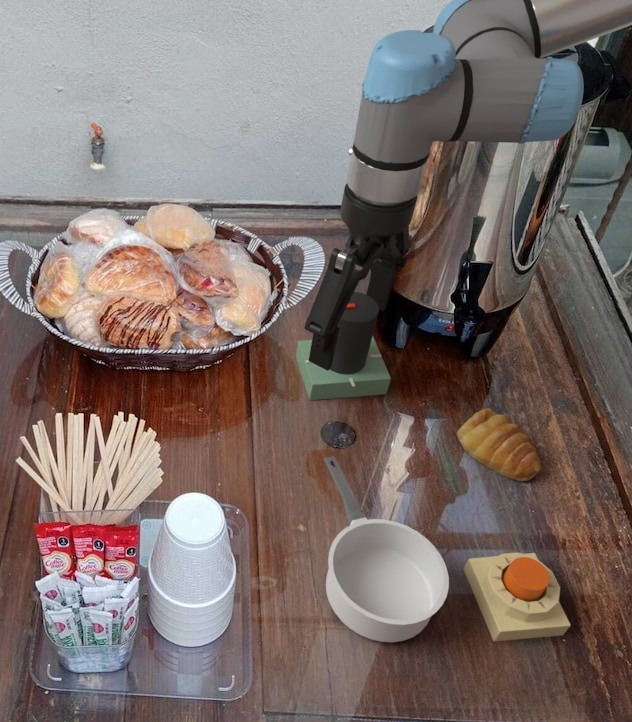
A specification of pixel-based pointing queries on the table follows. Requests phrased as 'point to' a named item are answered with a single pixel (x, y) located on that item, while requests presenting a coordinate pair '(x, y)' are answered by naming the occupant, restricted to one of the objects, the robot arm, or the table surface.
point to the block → (514, 601)
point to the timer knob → (355, 334)
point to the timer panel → (343, 376)
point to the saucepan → (382, 573)
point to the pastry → (499, 445)
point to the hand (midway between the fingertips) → (348, 334)
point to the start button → (526, 578)
